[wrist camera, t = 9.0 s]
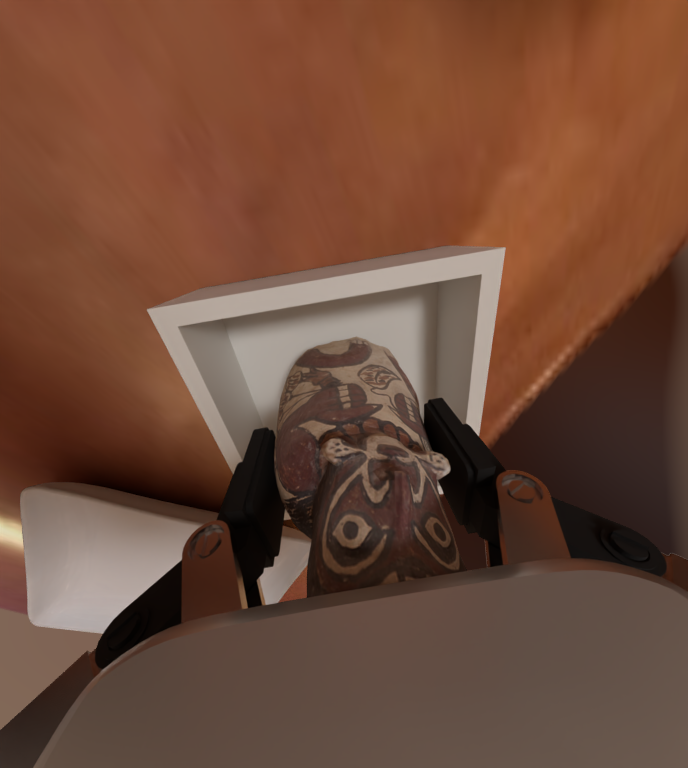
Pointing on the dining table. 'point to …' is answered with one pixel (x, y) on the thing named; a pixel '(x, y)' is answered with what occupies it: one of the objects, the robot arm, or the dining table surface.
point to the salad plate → (115, 552)
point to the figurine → (360, 471)
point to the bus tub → (336, 333)
